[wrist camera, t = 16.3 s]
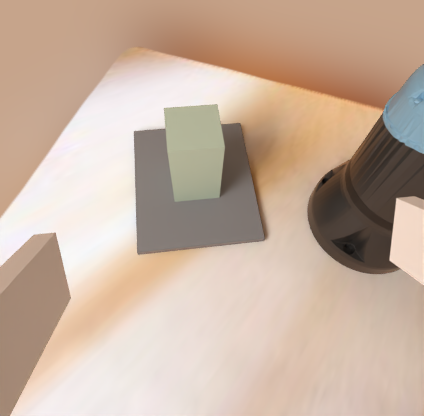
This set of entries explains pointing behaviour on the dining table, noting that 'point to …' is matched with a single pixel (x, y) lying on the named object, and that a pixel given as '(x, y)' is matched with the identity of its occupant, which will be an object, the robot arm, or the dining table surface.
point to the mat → (193, 209)
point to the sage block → (195, 151)
